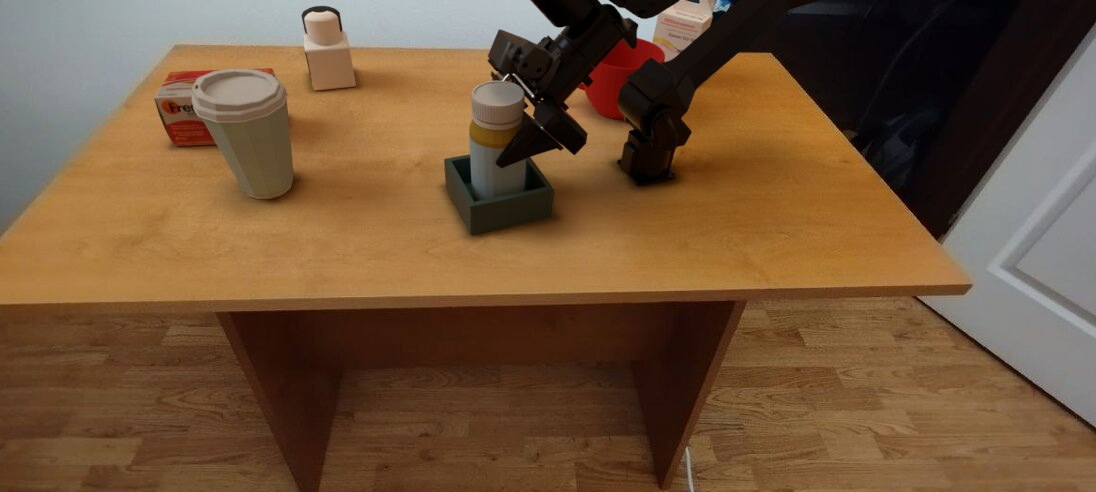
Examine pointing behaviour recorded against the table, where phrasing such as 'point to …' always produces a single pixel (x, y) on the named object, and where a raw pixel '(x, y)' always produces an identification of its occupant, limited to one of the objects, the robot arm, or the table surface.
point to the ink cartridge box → (682, 26)
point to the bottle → (495, 139)
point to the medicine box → (184, 109)
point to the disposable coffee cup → (248, 127)
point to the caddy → (498, 198)
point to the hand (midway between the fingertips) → (488, 150)
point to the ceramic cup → (618, 75)
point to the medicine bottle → (327, 49)
